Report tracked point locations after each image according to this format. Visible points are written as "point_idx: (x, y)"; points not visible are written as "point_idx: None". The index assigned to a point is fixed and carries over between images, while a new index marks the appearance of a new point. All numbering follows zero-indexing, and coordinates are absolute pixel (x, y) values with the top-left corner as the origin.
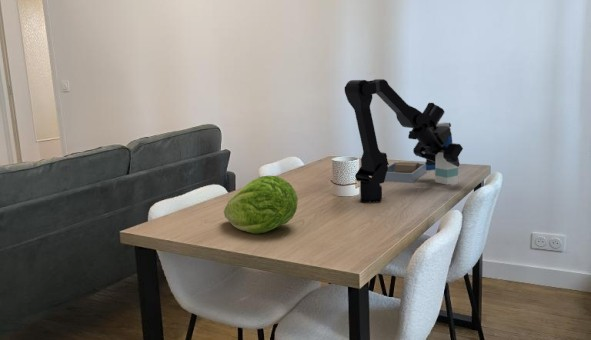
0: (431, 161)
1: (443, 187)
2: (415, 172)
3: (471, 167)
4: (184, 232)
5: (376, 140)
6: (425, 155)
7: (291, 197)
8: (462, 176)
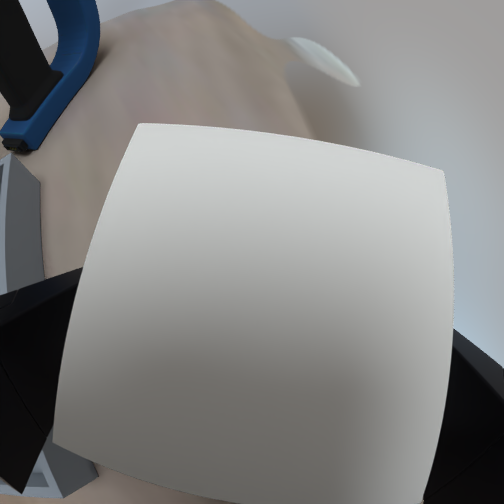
0: (28, 95)
1: None
2: None
3: (177, 17)
4: None
5: None
6: (8, 478)
7: None
8: (227, 124)
